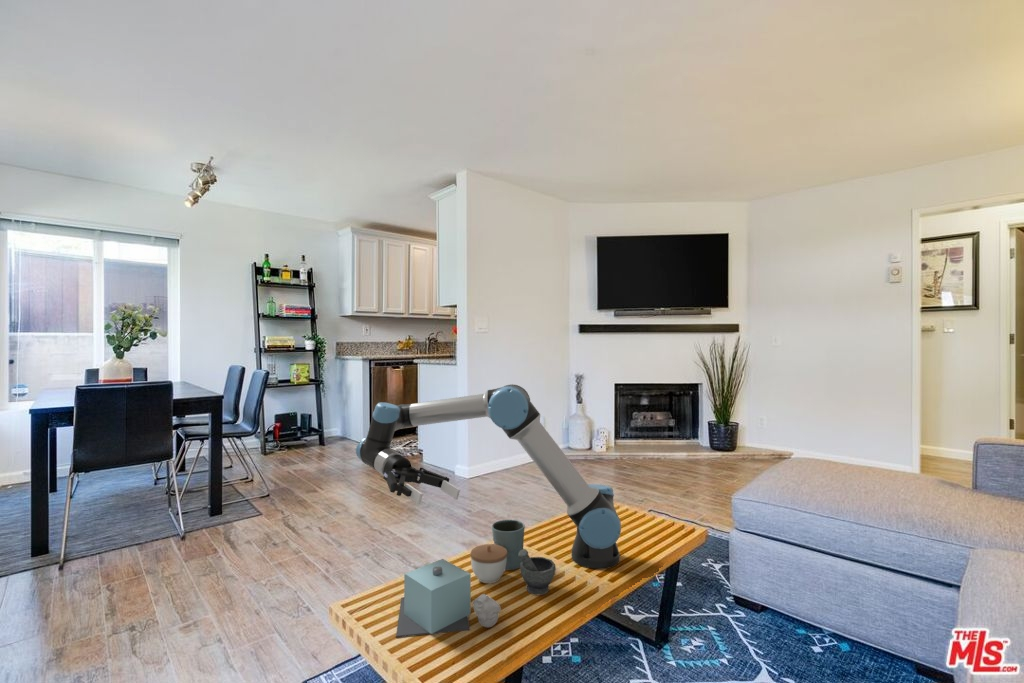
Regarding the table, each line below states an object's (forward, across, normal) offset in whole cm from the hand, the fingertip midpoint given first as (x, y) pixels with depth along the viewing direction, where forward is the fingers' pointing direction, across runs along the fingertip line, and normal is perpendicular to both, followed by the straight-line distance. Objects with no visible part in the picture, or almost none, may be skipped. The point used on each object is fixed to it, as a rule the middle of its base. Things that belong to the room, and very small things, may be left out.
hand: (440, 496), depth 123 cm
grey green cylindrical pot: (+6, -33, -23) cm, 40 cm away
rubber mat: (+9, 0, -27) cm, 28 cm away
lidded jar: (+7, -22, -24) cm, 33 cm away
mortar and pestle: (+21, -25, -20) cm, 38 cm away
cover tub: (+10, 0, -26) cm, 28 cm away
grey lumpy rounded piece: (+22, -4, -23) cm, 32 cm away
